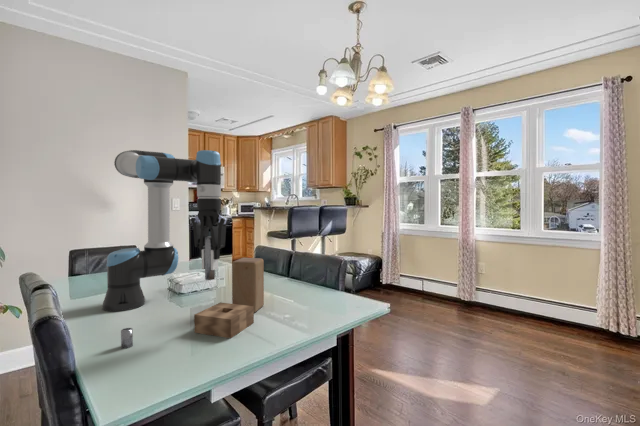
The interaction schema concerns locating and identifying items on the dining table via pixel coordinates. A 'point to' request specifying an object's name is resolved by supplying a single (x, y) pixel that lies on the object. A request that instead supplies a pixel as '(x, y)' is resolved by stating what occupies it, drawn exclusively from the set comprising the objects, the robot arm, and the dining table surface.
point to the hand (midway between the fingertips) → (210, 268)
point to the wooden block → (248, 282)
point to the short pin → (126, 338)
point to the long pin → (208, 259)
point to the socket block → (224, 320)
